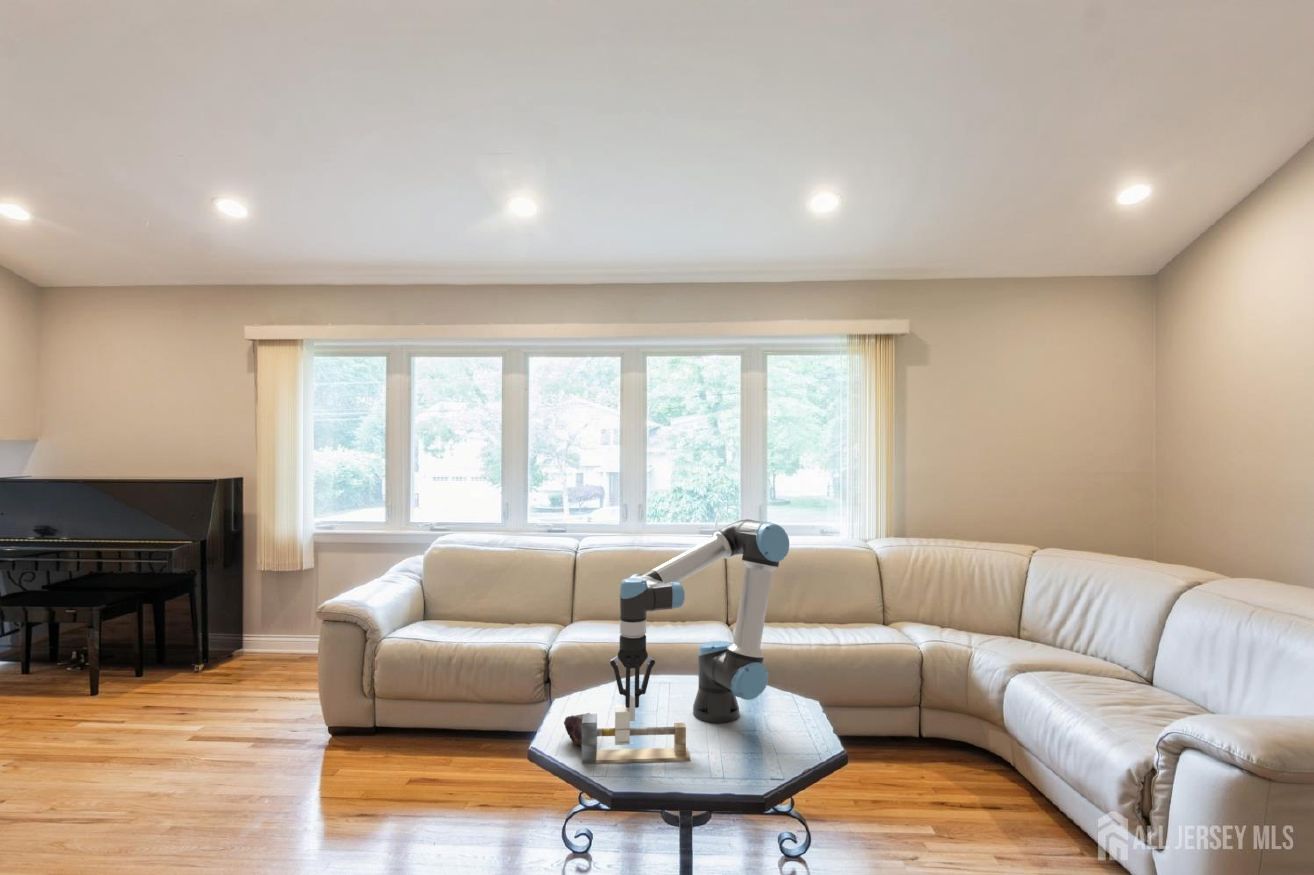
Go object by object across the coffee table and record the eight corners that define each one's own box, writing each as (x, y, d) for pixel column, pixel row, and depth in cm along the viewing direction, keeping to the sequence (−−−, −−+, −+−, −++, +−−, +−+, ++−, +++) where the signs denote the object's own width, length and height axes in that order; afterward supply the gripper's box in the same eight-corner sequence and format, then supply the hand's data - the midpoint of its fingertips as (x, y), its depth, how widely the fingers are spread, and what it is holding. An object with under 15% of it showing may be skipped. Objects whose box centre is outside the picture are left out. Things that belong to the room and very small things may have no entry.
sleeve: (629, 736, 177) (629, 704, 178) (629, 744, 172) (629, 711, 173) (615, 737, 177) (615, 705, 177) (615, 745, 172) (615, 712, 172)
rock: (597, 738, 189) (563, 738, 188) (598, 708, 191) (565, 708, 190) (597, 750, 178) (561, 750, 177) (598, 718, 179) (562, 718, 178)
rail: (687, 750, 179) (687, 711, 179) (690, 760, 173) (690, 720, 173) (582, 753, 177) (583, 713, 177) (581, 763, 171) (581, 722, 171)
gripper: (654, 630, 180) (654, 713, 179) (609, 630, 179) (608, 714, 178) (656, 637, 173) (656, 724, 172) (609, 638, 172) (608, 725, 171)
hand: (632, 718), depth 175 cm, fingers closed
